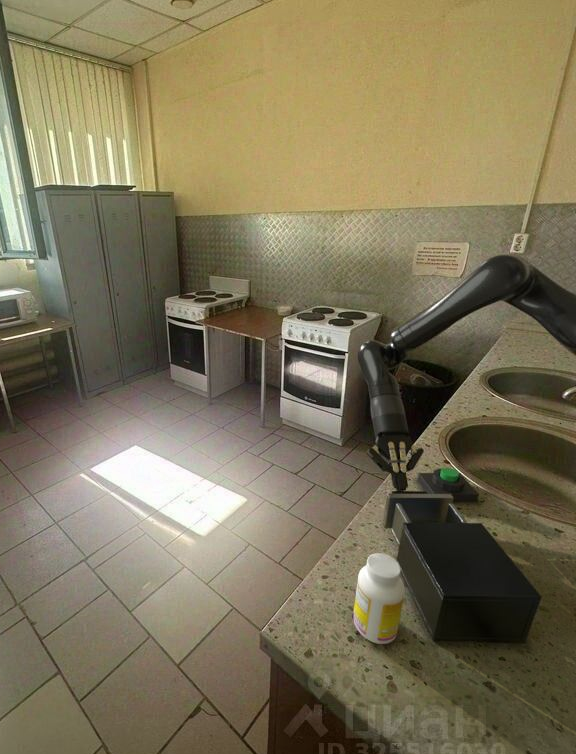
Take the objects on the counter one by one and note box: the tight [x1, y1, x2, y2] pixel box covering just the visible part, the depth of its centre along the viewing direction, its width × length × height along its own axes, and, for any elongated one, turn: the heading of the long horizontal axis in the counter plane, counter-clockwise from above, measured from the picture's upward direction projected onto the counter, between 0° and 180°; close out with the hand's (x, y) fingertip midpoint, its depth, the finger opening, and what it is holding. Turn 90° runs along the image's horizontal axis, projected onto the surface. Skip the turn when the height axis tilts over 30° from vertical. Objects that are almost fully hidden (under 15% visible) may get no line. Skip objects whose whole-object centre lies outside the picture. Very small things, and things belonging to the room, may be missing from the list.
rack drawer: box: [382, 490, 469, 547], centre depth 77 cm, size 18×13×8 cm
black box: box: [396, 522, 542, 644], centre depth 66 cm, size 15×14×10 cm
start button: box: [440, 467, 460, 482], centre depth 92 cm, size 4×4×2 cm
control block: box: [417, 468, 480, 503], centre depth 93 cm, size 10×8×4 cm
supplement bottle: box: [353, 552, 406, 645], centre depth 61 cm, size 7×7×13 cm
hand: (401, 490), depth 88 cm, fingers closed
